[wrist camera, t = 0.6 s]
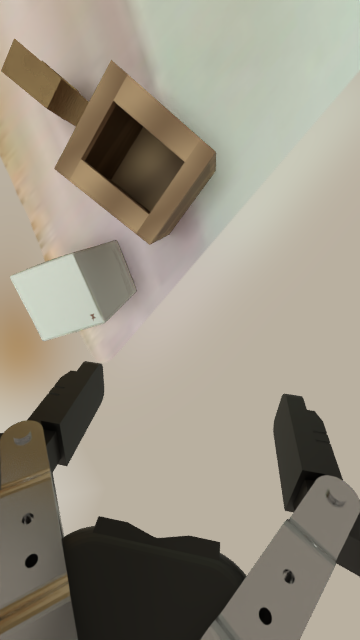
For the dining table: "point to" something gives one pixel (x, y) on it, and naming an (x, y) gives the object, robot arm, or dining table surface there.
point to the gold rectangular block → (44, 84)
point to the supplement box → (75, 290)
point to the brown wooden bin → (136, 157)
